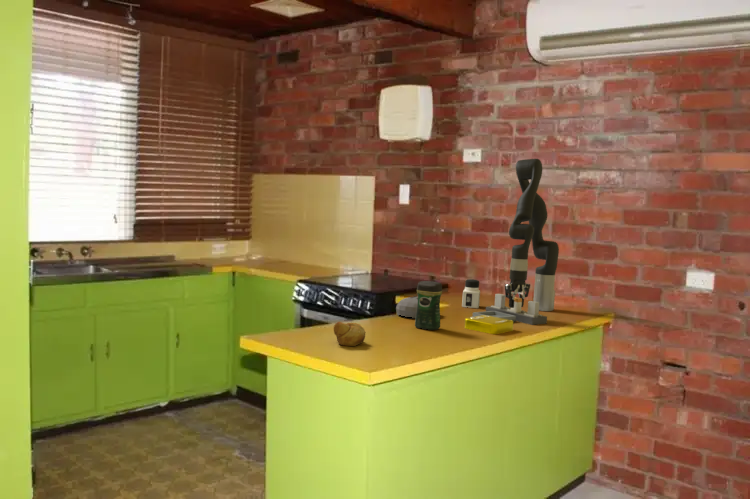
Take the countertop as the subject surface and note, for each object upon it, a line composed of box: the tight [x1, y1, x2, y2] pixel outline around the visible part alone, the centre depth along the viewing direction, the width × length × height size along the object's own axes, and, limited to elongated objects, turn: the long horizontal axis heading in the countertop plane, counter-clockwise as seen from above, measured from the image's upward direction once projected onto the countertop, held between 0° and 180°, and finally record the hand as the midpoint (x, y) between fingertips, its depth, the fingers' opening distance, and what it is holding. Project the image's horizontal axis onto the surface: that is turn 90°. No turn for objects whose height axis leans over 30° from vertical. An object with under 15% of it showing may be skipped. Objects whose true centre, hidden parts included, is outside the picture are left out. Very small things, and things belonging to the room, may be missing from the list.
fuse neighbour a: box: [493, 293, 507, 309], centre depth 313 cm, size 2×4×9 cm, turn 35°
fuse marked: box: [511, 296, 522, 313], centre depth 304 cm, size 2×4×9 cm, turn 35°
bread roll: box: [333, 321, 366, 347], centre depth 237 cm, size 13×10×8 cm
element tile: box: [464, 315, 514, 335], centre depth 276 cm, size 15×15×5 cm
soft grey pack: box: [395, 295, 418, 319], centre depth 298 cm, size 15×8×20 cm
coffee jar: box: [414, 280, 443, 331], centre depth 271 cm, size 10×8×19 cm
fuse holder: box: [485, 305, 548, 326], centre depth 305 cm, size 9×28×4 cm, turn 35°
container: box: [461, 278, 481, 309], centre depth 329 cm, size 8×8×13 cm
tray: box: [471, 310, 517, 323], centre depth 297 cm, size 13×13×2 cm
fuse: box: [526, 300, 540, 317], centre depth 296 cm, size 2×4×9 cm, turn 35°
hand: (516, 307), depth 304 cm, fingers open, 5 cm apart
